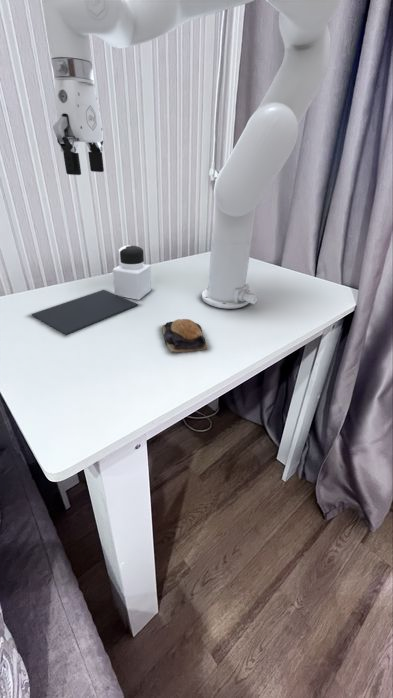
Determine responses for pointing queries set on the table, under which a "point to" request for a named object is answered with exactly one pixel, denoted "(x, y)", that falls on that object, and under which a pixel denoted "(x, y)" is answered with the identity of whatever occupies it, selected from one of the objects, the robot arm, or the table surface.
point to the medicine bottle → (132, 274)
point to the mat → (83, 311)
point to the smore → (183, 336)
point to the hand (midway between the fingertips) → (86, 173)
